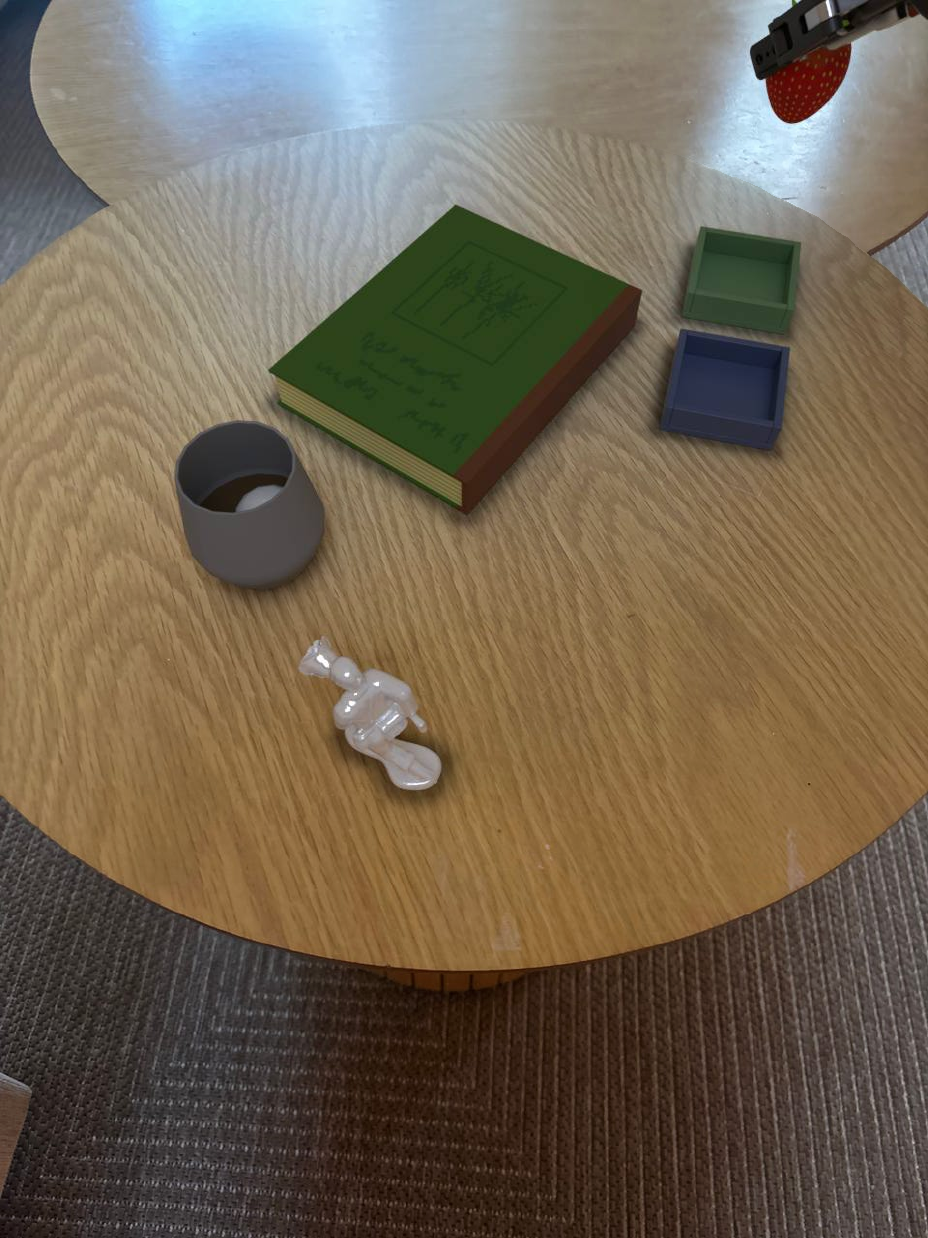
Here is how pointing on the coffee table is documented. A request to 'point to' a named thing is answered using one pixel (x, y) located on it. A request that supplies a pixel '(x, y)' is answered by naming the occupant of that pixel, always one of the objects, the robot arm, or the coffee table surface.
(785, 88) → the fruit
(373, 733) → the figurine
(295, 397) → the hardcover book
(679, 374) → the blue tray
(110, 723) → the coffee table surface
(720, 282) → the green tray
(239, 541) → the cup
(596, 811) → the coffee table surface
